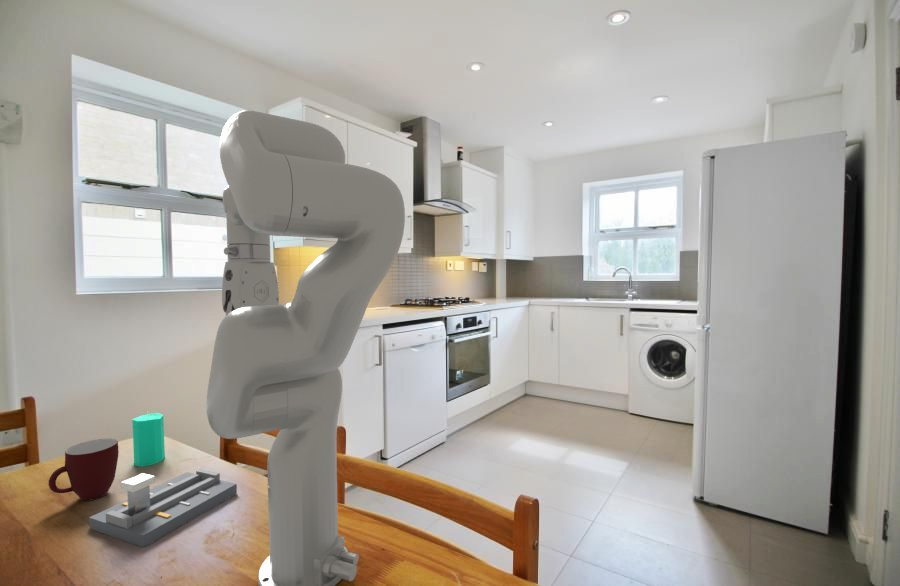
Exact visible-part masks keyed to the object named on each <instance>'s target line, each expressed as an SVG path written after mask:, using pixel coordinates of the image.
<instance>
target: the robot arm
mask: <svg viewBox="0 0 900 586" xmlns="http://www.w3.org/2000/svg"><path fill="white" fill-rule="evenodd" d="M219 158H220V163H221V168H222V171H223V174H224V178H225V180H226V183H227V187H226V188H224V189H223V192H222V207H223V212H224V214H226V215H225V216H226V217H225V218H226V245H227V246H226V247H225V248H223V253H224V255H225V256H227V261H225V262H224V263H225V264H224V269H223V274H222V287H221V301H222V302H221V303H222V310H223V312H224V313H225V316H224V318H223V319H221V321H220V324H219V326H218V328H217V332H216V336H215V340H214V346H213V351H212V352H213V353H212V359H211V366H210V371H209V372H210V373H209V379H208V384H207V393H206V406H205V407H206V417H207V421H208V424H209V426H210V428H211V429H212V432H214V433H215V434H216V436H219V437H221V439H222V438H223V439H227V440H232V439H233V440H235V439H240V438H247V437H252V436H257V435H261V434H266V433H270V432H275V431H279V432H278V434H277V435H276V437H275V438H274V441H273V442H272V444H271V447H270V448H269V453H268V456H267V463H266V468H267V470H266V473H267V497H268V498H267V499H268V501H267V503H268V504H267V505H268V506H267V507H268V536H269V537H268V540H269V546H268V547H269V556H266V559H265V560H264V561H262V563H261V566H260V567H259V570H258V575H257V576H258V577H257V582H258V586H336V585H337V584H338V583H340V582H341V580H345V581H348V582H353V580H355V578H356V575H357V572H358V566H357V564H358V562H359V558H360V556H359V555H360V554H358V553H355V552H351V551H348V548H347V547H346V546H345V537H344V536H340V535H339V524H338V523H339V520H338V517H339V515H338V513H339V511H338V472H337V471H338V470H337V469H338V466H337V465H338V464H337V463H338V462H337V461H338V457H337V456H338V454H337V452H338V451H337V437H338V436H337V433H338V422H339V414H340V413H339V412H340V408H341V402H342V395H343V394H342V392H343V378H342V374H341V371H340V369H339V368H340V367H341V365H342V364H343V363H344V361H345V360H346V358H347V357H348V354H349V352H350V350H351V348H352V346H353V343H354V340H355V338H356V335H357V333H358V331H359V328H360V326H361V323H362V321H363V318H364V316H365V313H366V311H367V307H368V306H369V303H370V301H371V299H372V298H373V296H374V294H375V292H376V290H377V289H378V288H379V286H380V285H381V284H382V282H383V280H384V279H385V277H386V276H387V274H388V273H389V271H390V269H391V268H392V266H393V264H394V261H395V260H396V258H397V256H398V253H399V251H400V248H401V246H402V245H401V244H402V242H403V237H404V231H405V224H406V223H405V222H406V209H405V202H404V198H403V195H402V192H401V190H400V188H399V187H398V185H397V184H396V182H394V181H393V180H392V179H391V178H390V177H388V176H386V175H385V174H383V173H381V172H379V171H377V170H373V169H370V168H367V167H363V166H359V165H354V164H349V163H346V153H345V149H344V147H343V144H342V143H341V141H340V139H339V138H338V137H337V136H336V135H335V134H334V133H333V132H332V131H330V130H328V128H326V127H324V126H321V125H319V124H316V123H312V122H309V121H304V120H299V119H294V118H291V117H285V116H280V115H276V114H275V115H274V114H270V113H265V112H260V111H257V110H256V111H255V110H251V109H250V110H241V111H239V112H237V113H234V114H233V115H232V116H230V117H229V119H228V120H227V122H226V123H225V125H224V126H223V128H222V132H221V136H220V141H219ZM271 236H273V237H294V238H295V237H297V238H313V239H314V238H318V239H337V241H336V242H335V243H334V244H333V245H331V246H330V247H329V248H327V249H326V250H324V251H323V252H322V253H321V254H319V255H318V256H317V257H316V258H315V259H314V260H313V261H312V262H311V263H310V264H309V265H308V267H306V269H305V270H304V271H303V272H302V273H301V276H300V277H299V280H298V282H297V286H296V289H295V293H294V297H293V299H292V300H291V301H289V302H287V303H283V304H280V293H279V282H278V277H277V271H276V267H275V264H274V262H271V261H272V260H271Z"/></svg>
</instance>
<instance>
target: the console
mask: <svg viewBox="0 0 900 586" xmlns="http://www.w3.org/2000/svg"><path fill="white" fill-rule="evenodd" d="M220 475H221V474H220V473H219V472H216V471H210V470H207V469H202V468H200V469H198V470H196V472H195V473H192V472H189V471H188V472H184V473H183V474H182V473H181V475H178V476H176V477H174V478H172V479H170V480H167V481H165V482H163V483H161V484H159V485H157V486H154V487H152V488H149V489H150V508H148V509H146V510H144V511H142V512H140V513H138V514H136V515H134V516H132V515H128V499H126V500H124V501H122V502H120V503H117V504H115V505H113V506H111V507H109V508H107V509H105V510H102V511H100V512H98V513H96V514H93V515H92V516H89V517H88V523H89V525H88V526H89V527H88V528H89V530H92V531H95V532H98V533H101V534H104V535H107V536H109V537H112V538H114V539H118V540H120V541H124V542H127V543H129V544H132V545H134V546H135V545H136V546H139V547H141V548H145V547H147V546H148V545H150V544H152V543H154V542H156V541H157V540H158V539H161V538H162V537H164V536H166V535H168V534H170V533H171V532H173V531H174V530H176V529H179V528H180V527H181V526H183V525H185V524H187V523H189V522H190V521H192V520H193V519H196V518H197V517H199V516H200V515H203V514H204V513H206V512H207V511H209V510H212V508H214V507H216V506H218V505H221V504H222V503H223V502H225V501H226V500H228V499H230V498H232V497H233V496H235V495H236V494H238V492H237V491H238V490H237V489H238V487H237V483H235V482H230V481H227V480H222V479H221V476H220Z"/></svg>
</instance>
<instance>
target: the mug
mask: <svg viewBox="0 0 900 586" xmlns="http://www.w3.org/2000/svg"><path fill="white" fill-rule="evenodd" d="M118 459H119V441H118V440H117V439H115V438H100V439H99V438H98V439H92V440H88V441H85V442H80V443H78V444H75V445H73V446H71V447H69V448H67V449H66V450H65V452H64V465H63V466H61V467H59V468H56V469H55V470H54V471H53V472H52V474H51V475H50V477H49V479H48V487H49V489H50V490H51V491H52V492H53V493H55V494H66V493H71V492H73V493H74V494H75V495H76V496H77V497H78V498H79V499H81V500H82V501H84V502H85V501H86V502H89V501H94V500H98V499H100V498H103V497H105V496H106V495H107V493H108V492H109V490H110V489H111V486H112V485H113V483H114V481H115V477H116V472H117V466H118V461H119V460H118ZM63 473H66V474H67V477H68V481H69V483H70V487H66V488H59V487H58V486H57V484H56V483H57V479H58V478H59V476H61V474H63Z"/></svg>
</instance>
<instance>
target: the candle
mask: <svg viewBox="0 0 900 586" xmlns="http://www.w3.org/2000/svg"><path fill="white" fill-rule="evenodd" d="M146 412H147V414H143V415H142V414H141V415H140V416H137V417H135V418H132V419H131V420H132V421H131V422H132V440H133V441H132V442H133V443H132V444H133V448H132V449H133V464H134V466H136V467H148V466H152V465H156V464H158V463H160V462H162V461H163V460H164V459H165V458H166V454H165V453H166V451H165V447H166V446H165V432H164V431H165V428H164V427H165V425H164V414H162V413H158V412H152V413H151V412H150V413H149V410H147V411H146Z"/></svg>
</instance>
